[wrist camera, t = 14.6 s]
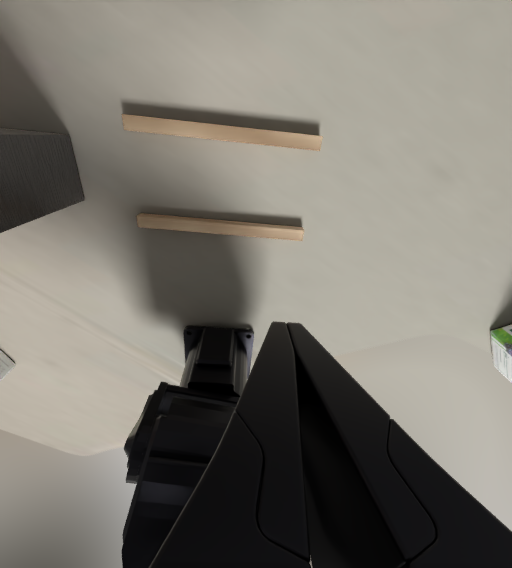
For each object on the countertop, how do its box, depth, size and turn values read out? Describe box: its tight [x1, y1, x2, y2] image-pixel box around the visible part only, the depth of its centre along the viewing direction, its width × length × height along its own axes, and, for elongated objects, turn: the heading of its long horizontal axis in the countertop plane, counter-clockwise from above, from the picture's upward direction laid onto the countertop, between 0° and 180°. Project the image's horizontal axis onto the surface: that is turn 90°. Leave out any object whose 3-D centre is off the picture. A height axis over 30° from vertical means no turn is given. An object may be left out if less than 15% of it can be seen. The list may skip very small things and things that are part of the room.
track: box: [122, 114, 323, 241], centre depth 17 cm, size 7×12×1 cm, turn 85°
